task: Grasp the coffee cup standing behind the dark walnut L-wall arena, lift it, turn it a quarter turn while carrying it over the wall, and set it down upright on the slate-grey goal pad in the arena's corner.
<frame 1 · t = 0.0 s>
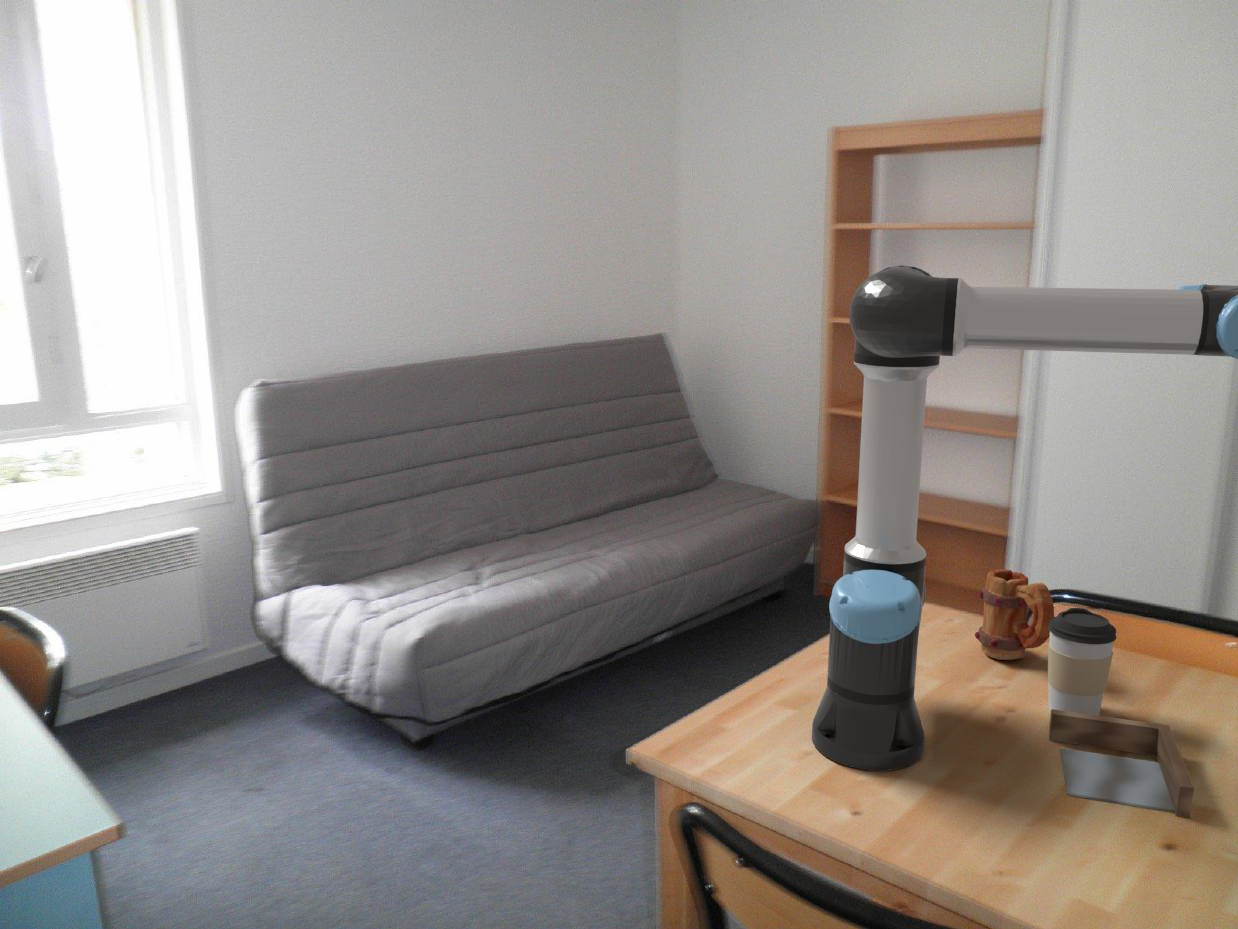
mug: (1011, 662, 165), on the table
arena: (1114, 779, 129), on the table
coffee cup: (1073, 712, 148), on the table
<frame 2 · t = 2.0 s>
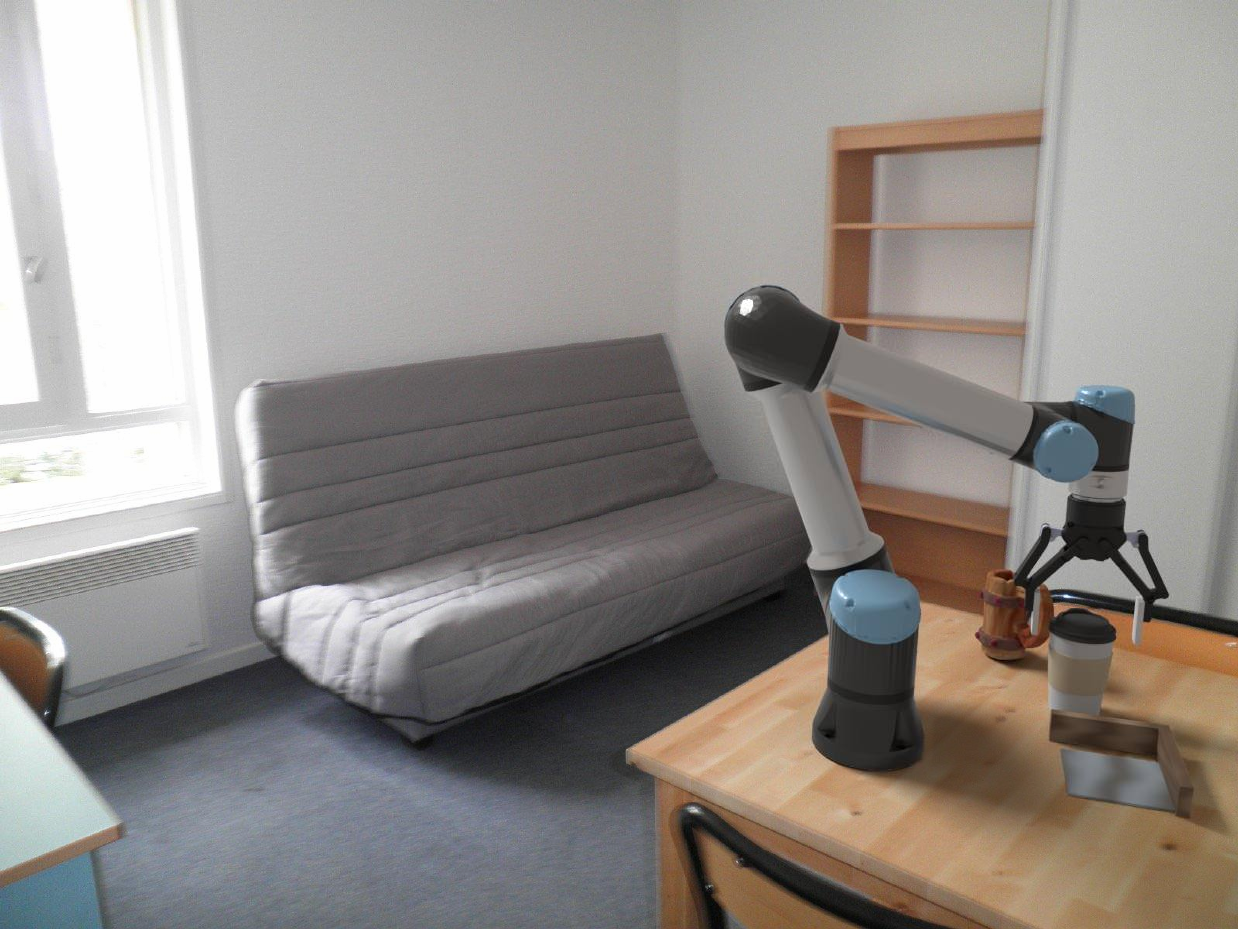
hand: (1084, 637, 145), 12 cm above the table, fingers open, 13 cm apart
nothing on the table moved.
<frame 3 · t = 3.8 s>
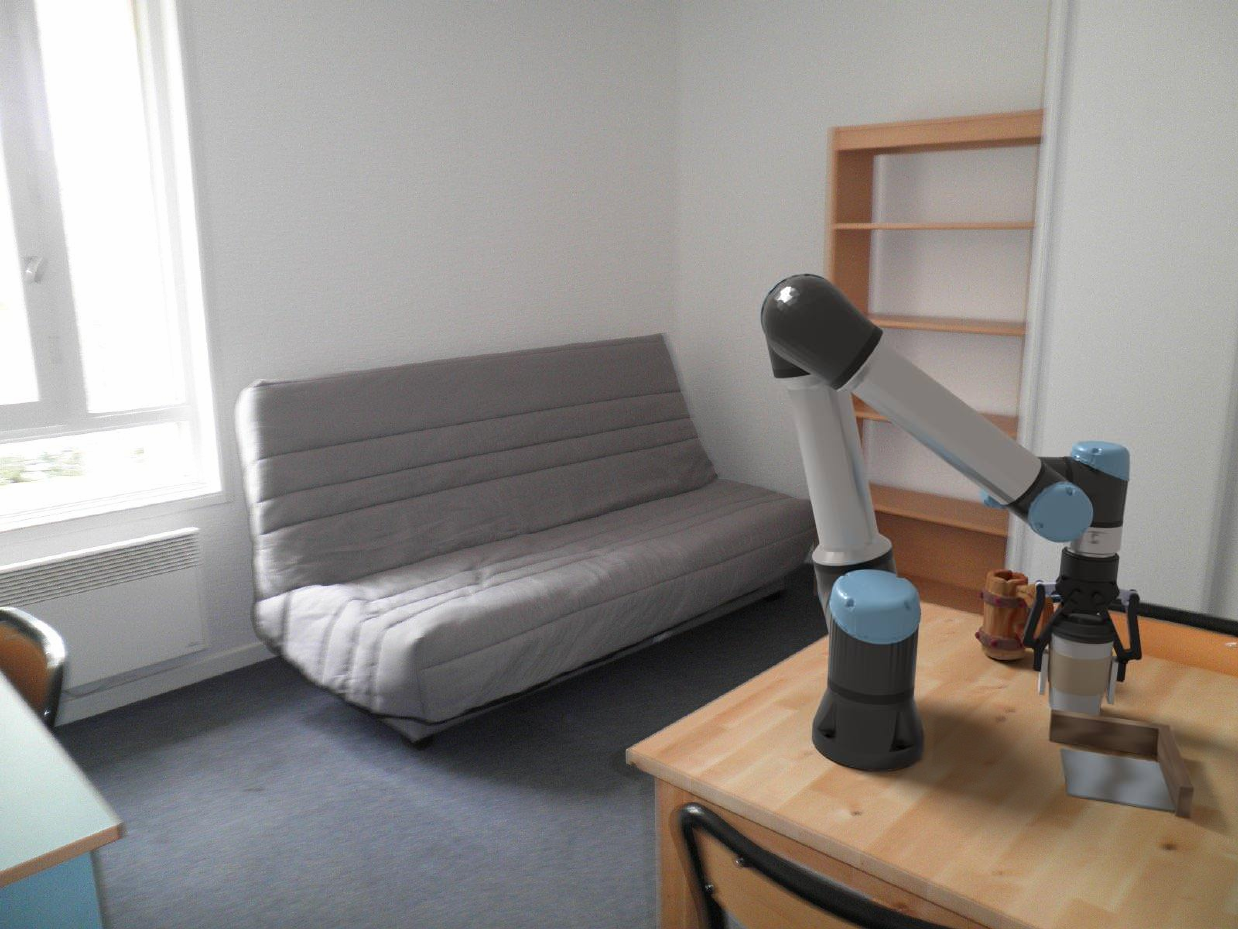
hand: (1075, 695, 147), 2 cm above the table, fingers closed on coffee cup, 9 cm apart
coffee cup: (1073, 712, 148), on the table, touching gripper
everything else where it was.
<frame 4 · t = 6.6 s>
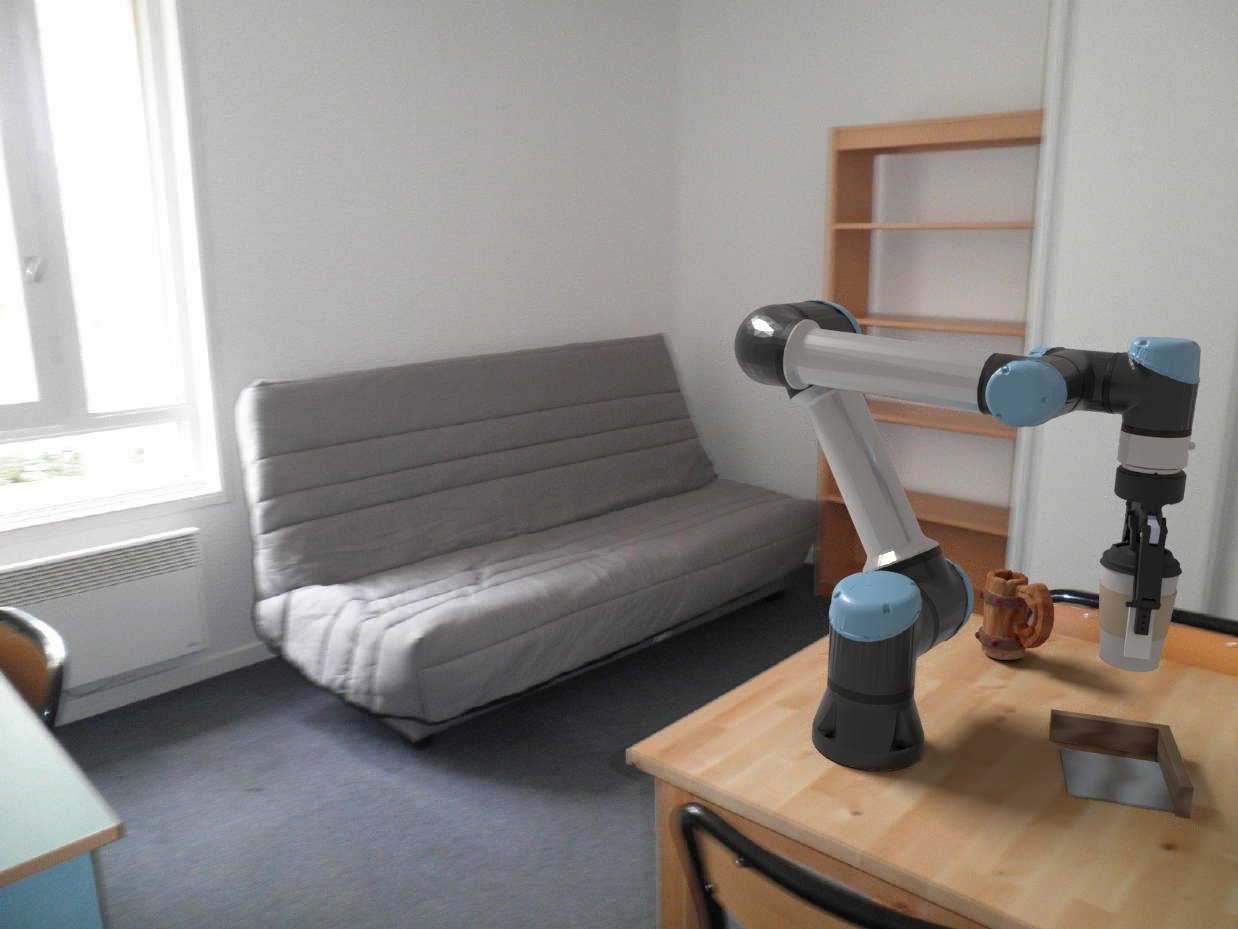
hand: (1130, 642, 125), 19 cm above the table, fingers closed on coffee cup, 8 cm apart
coffee cup: (1128, 661, 125), point 16 cm above the table, touching gripper
everything else where it was.
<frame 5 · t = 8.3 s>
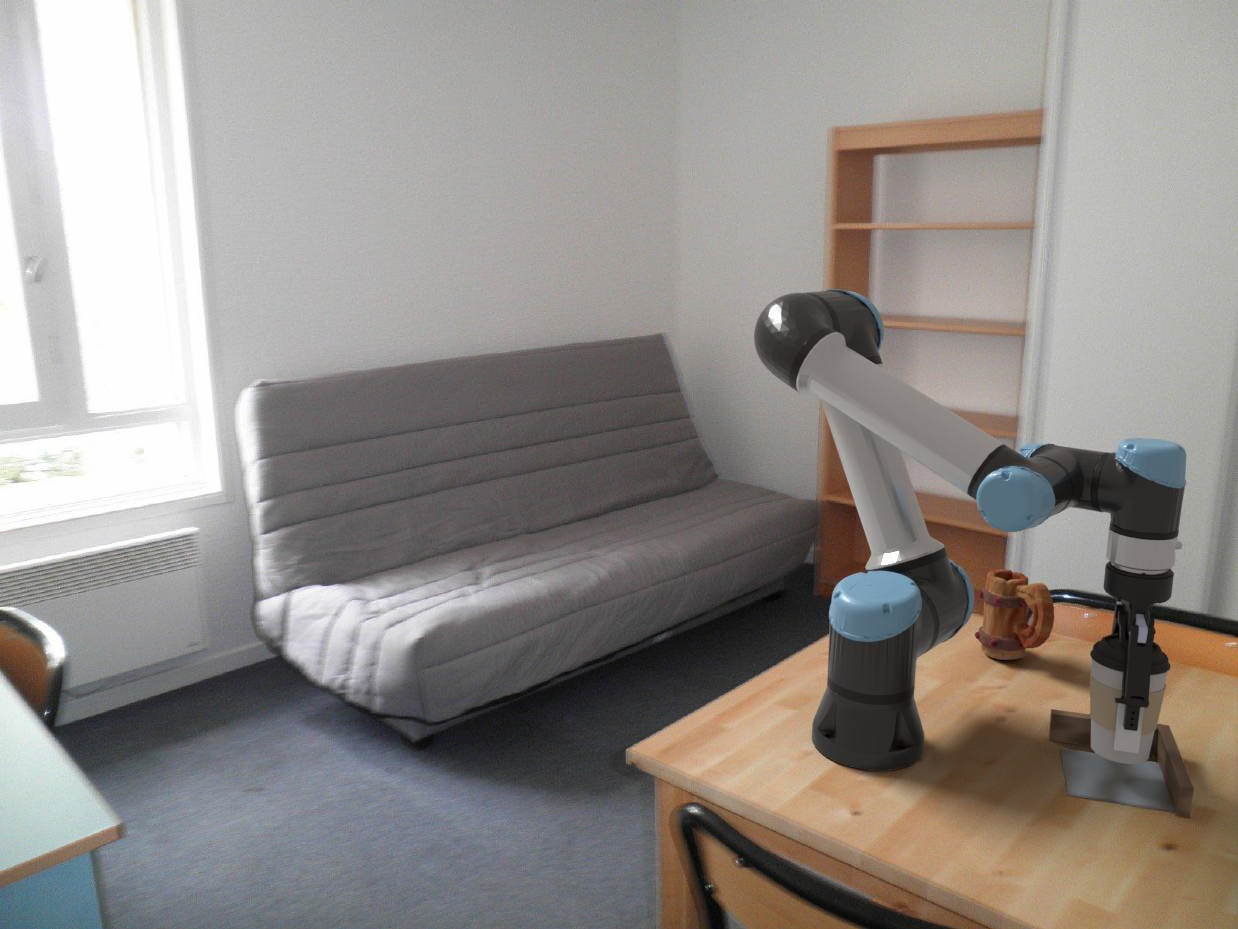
hand: (1120, 733, 128), 7 cm above the table, fingers closed on coffee cup, 8 cm apart
coffee cup: (1119, 751, 128), point 4 cm above the table, touching gripper
everything else where it was.
when the fingers open (5 cm above the table, at t = 9.5 s): coffee cup drops 2 cm, resting on arena.
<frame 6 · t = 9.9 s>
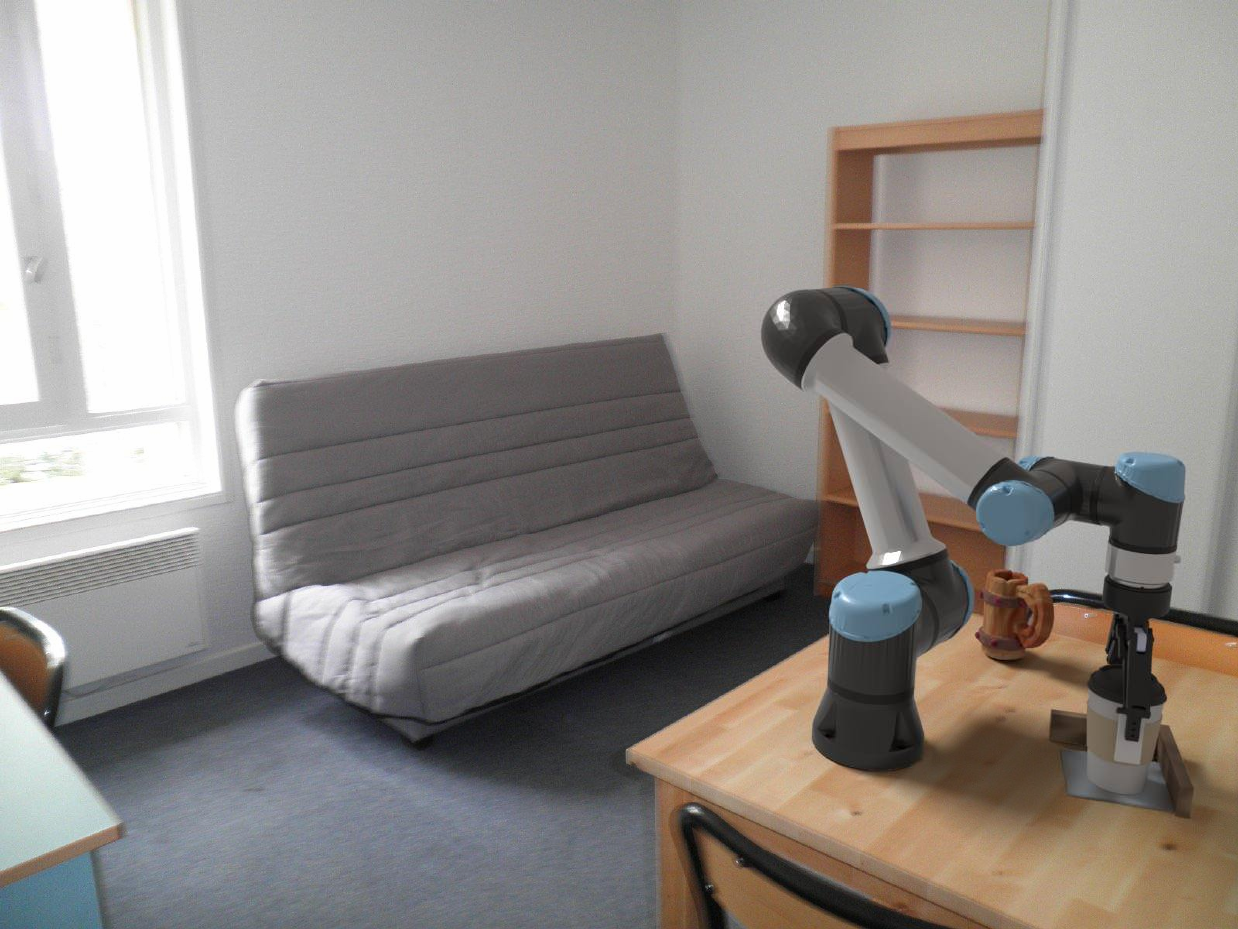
hand: (1119, 736, 128), 6 cm above the table, fingers open, 13 cm apart
coffee cup: (1115, 781, 128), resting on arena
everything else where it was.
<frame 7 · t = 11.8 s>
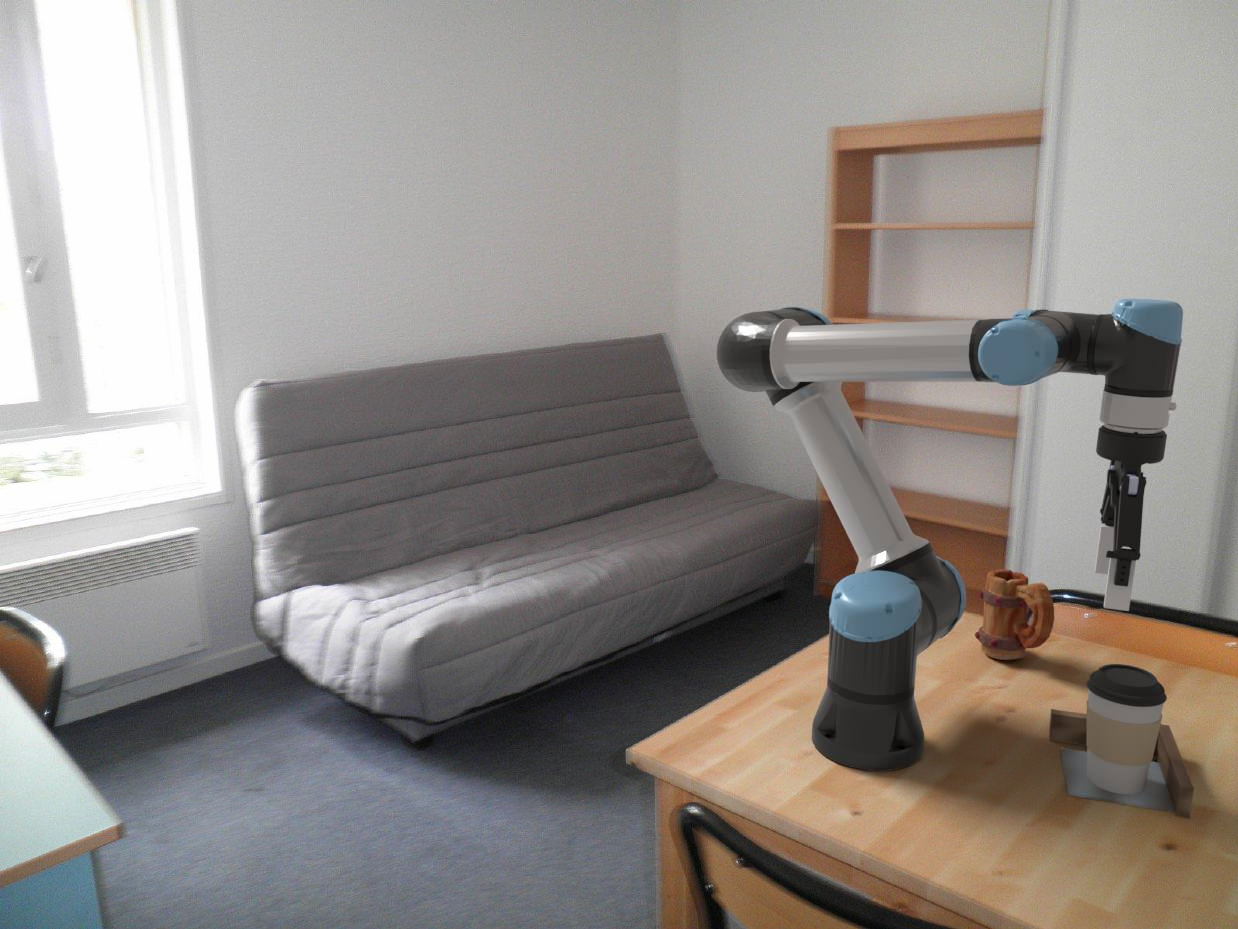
hand: (1110, 590, 127), 25 cm above the table, fingers open, 13 cm apart
nothing on the table moved.
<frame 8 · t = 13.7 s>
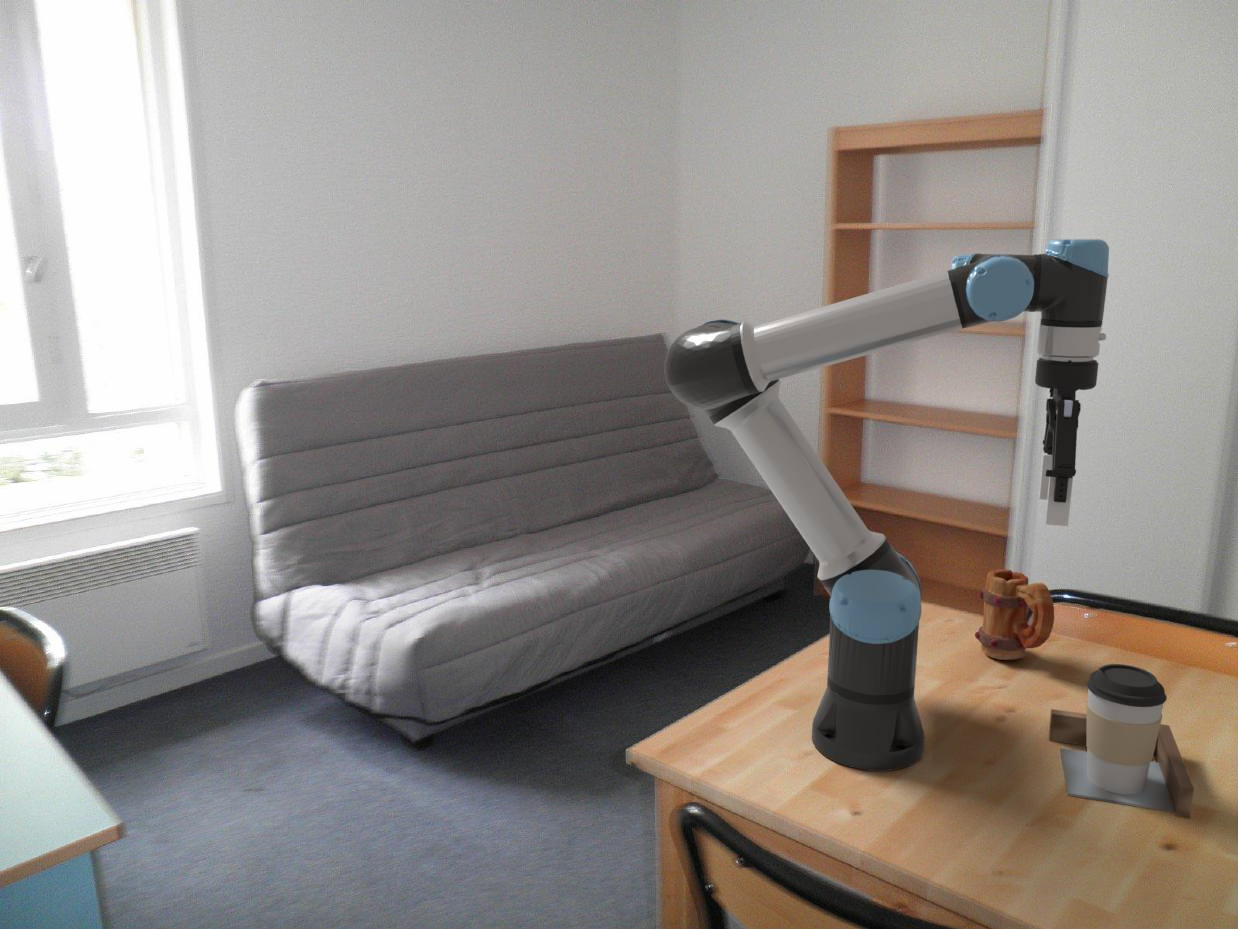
hand: (1052, 511, 137), 32 cm above the table, fingers open, 13 cm apart
nothing on the table moved.
at the end: coffee cup 0.7 cm off-centre on the arena, point 0.1 cm above the arena's base; coffee cup tilted 0°; the gripper is holding nothing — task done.
